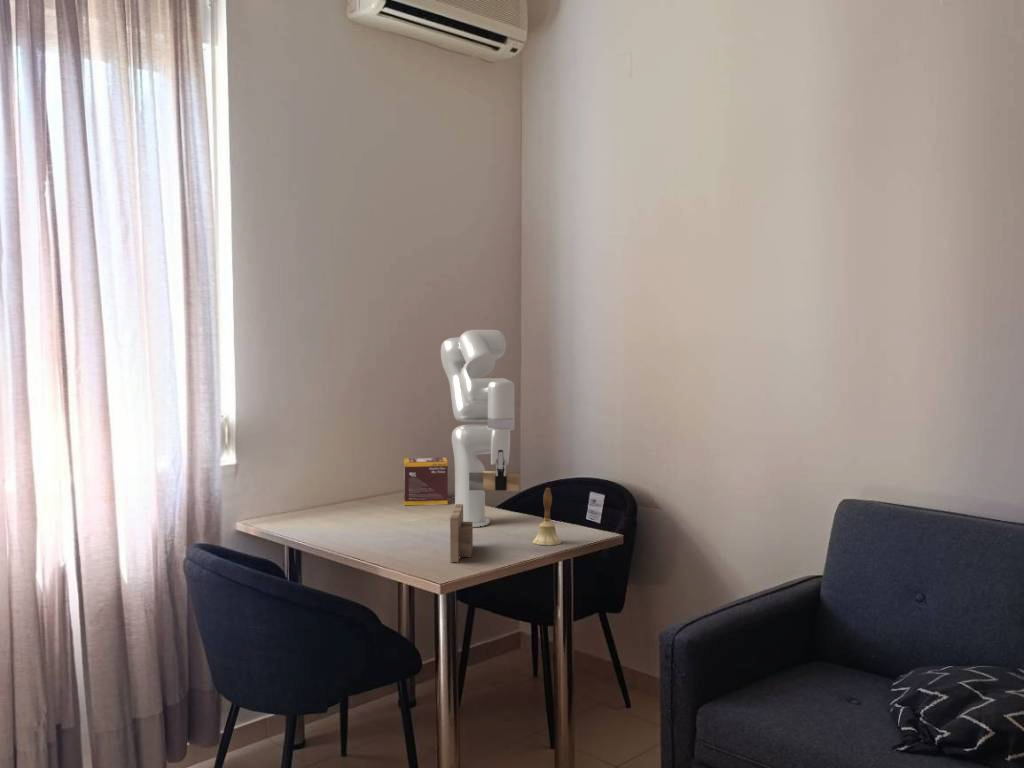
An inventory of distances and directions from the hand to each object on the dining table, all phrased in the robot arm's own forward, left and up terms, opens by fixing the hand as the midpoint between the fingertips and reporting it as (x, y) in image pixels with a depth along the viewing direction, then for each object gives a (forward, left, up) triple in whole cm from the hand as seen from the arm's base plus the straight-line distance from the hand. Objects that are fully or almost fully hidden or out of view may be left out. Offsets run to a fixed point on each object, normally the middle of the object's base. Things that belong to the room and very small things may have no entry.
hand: (501, 488), depth 266 cm
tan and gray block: (0, -2, 0) cm, 2 cm away
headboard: (+8, -9, -17) cm, 21 cm away
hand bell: (-6, +13, -17) cm, 22 cm away
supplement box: (-69, -29, -17) cm, 76 cm away
